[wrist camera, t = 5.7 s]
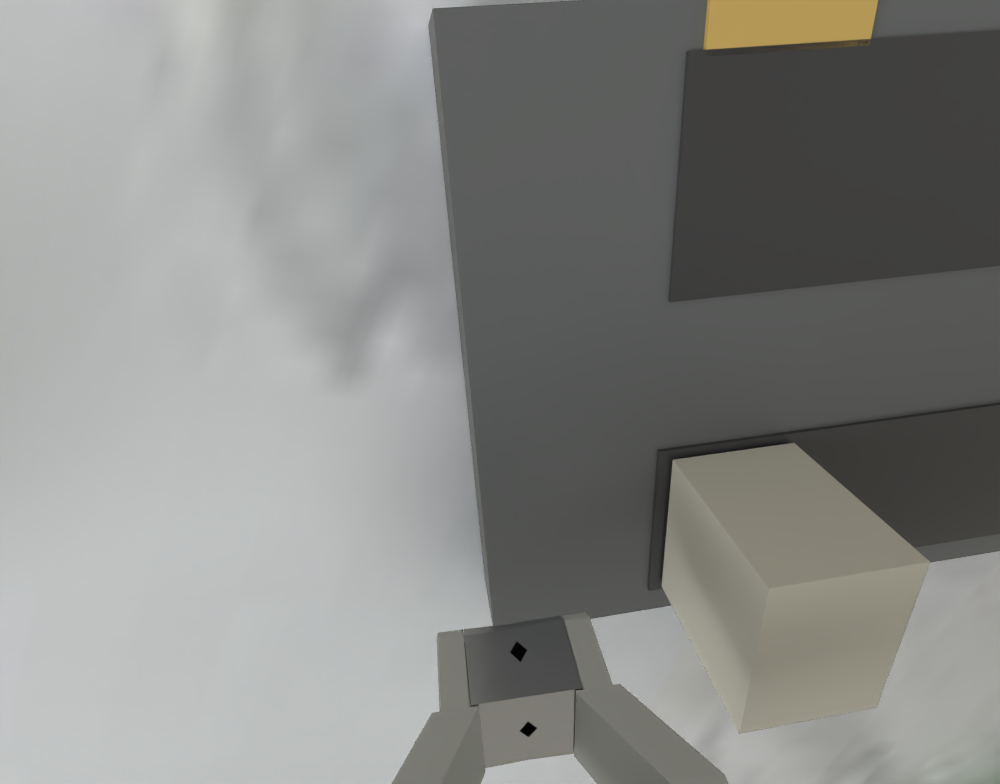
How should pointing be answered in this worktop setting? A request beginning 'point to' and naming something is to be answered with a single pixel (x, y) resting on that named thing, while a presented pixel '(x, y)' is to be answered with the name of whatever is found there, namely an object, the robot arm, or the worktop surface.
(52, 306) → the worktop surface
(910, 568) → the cream tab
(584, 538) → the switch panel
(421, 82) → the worktop surface
